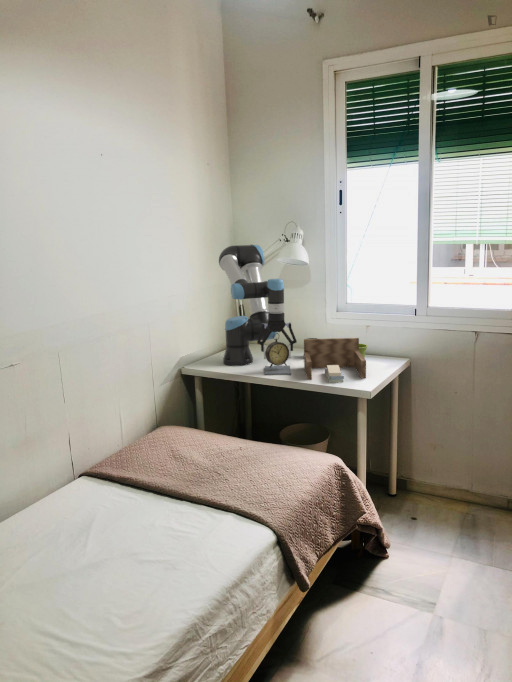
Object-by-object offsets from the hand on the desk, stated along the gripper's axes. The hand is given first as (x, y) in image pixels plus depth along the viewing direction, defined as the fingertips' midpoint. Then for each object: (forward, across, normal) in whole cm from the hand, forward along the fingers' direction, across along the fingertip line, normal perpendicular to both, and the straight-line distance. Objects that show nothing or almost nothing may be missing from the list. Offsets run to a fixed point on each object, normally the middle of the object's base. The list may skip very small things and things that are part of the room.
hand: (277, 358), depth 251 cm
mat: (+6, 0, 0) cm, 6 cm away
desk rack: (+6, +26, -5) cm, 27 cm away
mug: (+7, +20, +25) cm, 33 cm away
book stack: (+7, +25, -14) cm, 29 cm away
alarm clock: (+4, 0, 0) cm, 4 cm away
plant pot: (+7, +40, +13) cm, 43 cm away
